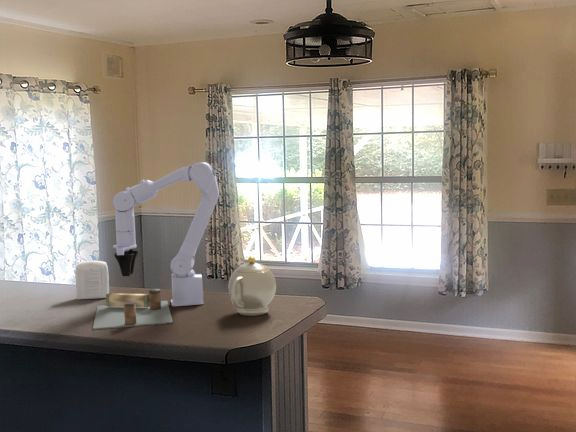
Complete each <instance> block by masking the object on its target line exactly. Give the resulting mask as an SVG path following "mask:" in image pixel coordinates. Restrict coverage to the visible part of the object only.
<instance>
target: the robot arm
mask: <svg viewBox="0 0 576 432" xmlns="http://www.w3.org/2000/svg"><path fill="white" fill-rule="evenodd" d="M181 181H183V182H191V181H193V183H194V184H195V185H196V186H197V187H198V189H199V191H200V194H201V195H202V197H201V200H200V201H199V204H198V206H197V210H196V212H195V213H194V216H193V219H192V221H191V223H190V226H189V227H188V230H187V233H186V235H185V238H184V239H183V243H182V244H181V246H180V248H179V250H178V253H177V254H176V255H175V256H174V258H172V260H171V261H170V270H171V272H172V273H171V293H172V295H171V297H172V299H170V303H171V307H183V306H194V305H195V306H197V305H204V290H203V289H204V287H203V286H204V285H203V276H202V274H201V273H196V272H195V270H194V269H193V267H194V265H195V263H196V262H195V255H196V253H197V250H198V247H199V245H200V242H201V240H202V238H203V236H204V233H205V232H206V228H207V226H208V224H209V221H210V219H211V217H212V213H213V211H214V209H215V207H216V204H217V202H218V199H219V197H220V190H219V186H218V184H219V183H218V179H217V173H216V172H215V170H214V168H213V167H212V165H211V164H209V162H206V161H200V162H196V163H193V164H191V165H187V166H184V167H180V168H178V169H176V170H173V171H172V172H169V173H168V174H165V176H163V177H160V178H159V179H156V180H154V181H153V180H149V179H146V180H145V179H141V180H139V183H138V184H135V185H133V186H131V187H129V186H128V187H126V188H125V191H119V192H118V193H116V194H115V195H114V196H113V198H112V205H113V206H112V207H114V210H115V211H114V212H115V213H114V214H115V217H114V218H115V219H114V220H115V238H116V241H115V242H116V244H114V245H112V249H116V251H115V253H114V258H115V259H116V261H117V263H118V265H119V269H120V272H121V273H120V274H121V275H122V277H130V276H131V275H133V274H134V270H135V264H136V260H137V256H138V255H139V253H140V251H139V249H136V248H137V246H138V245H137V242H136V221H135V218H136V217H135V210H134V209H135V208H134V207H135V206H139V205H142V204H144V203H146V202H147V201H149V200H151V199H154V198H156V197H157V196H158V192H159V191H161V190H162V189H166V188H167V187H170V186H172V185H174V184H176V183H180V182H181Z"/></svg>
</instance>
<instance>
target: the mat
mask: <svg viewBox="0 0 576 432" xmlns="http://www.w3.org/2000/svg"><path fill="white" fill-rule="evenodd" d="M171 313H172V312H171V310H170V306H169V302H168V300H161V309H159V310H150V306H149V307H136V324H134V325H125V315H124V307H107V306H106V304H105V305H104V304H103V305H102V304H101V305H97V306H96V312H95V316H94V320H93V326H92V331H95V330H107V329H108V330H110V329H119V328H121V329H122V328H130V327H132V328H133V327H143V326H145V327H146V326H154V325H155V324H157V325H167V323H169V324H173V323H174V321H173V317H172V314H171Z"/></svg>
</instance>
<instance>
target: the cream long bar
mask: <svg viewBox="0 0 576 432" xmlns="http://www.w3.org/2000/svg"><path fill="white" fill-rule="evenodd" d="M125 302H134V304H135V306H136V307H149V306H150V298H149V293H117V292H115V293H114V292H112V293H111V292H109V293H108V294H106V298H105V303H106V304H105V305H106V306H107V307H124V305H125Z"/></svg>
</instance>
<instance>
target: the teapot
mask: <svg viewBox="0 0 576 432" xmlns="http://www.w3.org/2000/svg"><path fill="white" fill-rule="evenodd" d="M247 261H248V262H246V263H244V264H240V266H238V267H237V268H235V269H234V270H233V272H232V273H231V275H230V278H229V280H228V294H229V296H230V302H231V303H232V305H233V306H234V307H235V308H236V309H237V313H238V314H240V315H242V316H247V317H258V316H262V315H263V316H264V315H265V314H267V313H268V311H269V306H268V305H270V304H271V302H272V300H274V297H275V295H276V292H277V283H276V278H275V276H274V274H273V272H272V271H271V270H270V268H268V267H267V265H266V264H262V263H259V262H255V261H256V258H255V257H254V256H249V257H248V258H247Z"/></svg>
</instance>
